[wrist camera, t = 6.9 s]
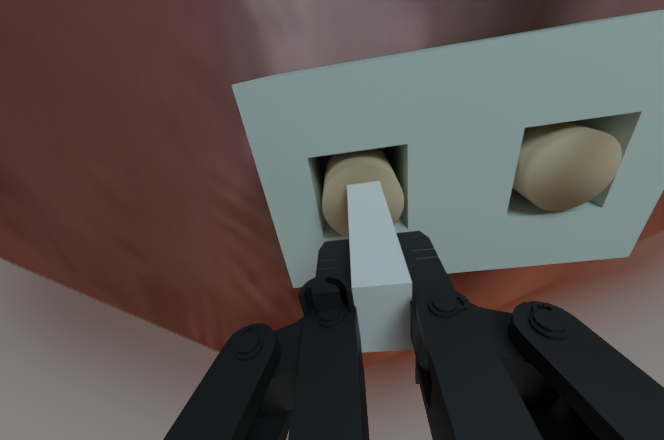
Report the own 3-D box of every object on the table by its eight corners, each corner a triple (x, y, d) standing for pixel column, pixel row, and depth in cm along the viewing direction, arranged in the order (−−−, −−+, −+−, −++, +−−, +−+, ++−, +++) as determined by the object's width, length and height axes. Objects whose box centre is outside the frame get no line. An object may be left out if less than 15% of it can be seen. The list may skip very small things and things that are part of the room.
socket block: (307, 217, 25) (293, 287, 18) (274, 74, 19) (231, 84, 12) (532, 191, 23) (628, 256, 16) (575, 23, 17) (765, -7, 10)
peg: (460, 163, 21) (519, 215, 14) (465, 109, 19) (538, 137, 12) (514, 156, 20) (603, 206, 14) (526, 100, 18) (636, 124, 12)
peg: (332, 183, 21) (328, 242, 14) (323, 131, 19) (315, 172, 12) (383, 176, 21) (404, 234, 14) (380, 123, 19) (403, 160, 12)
